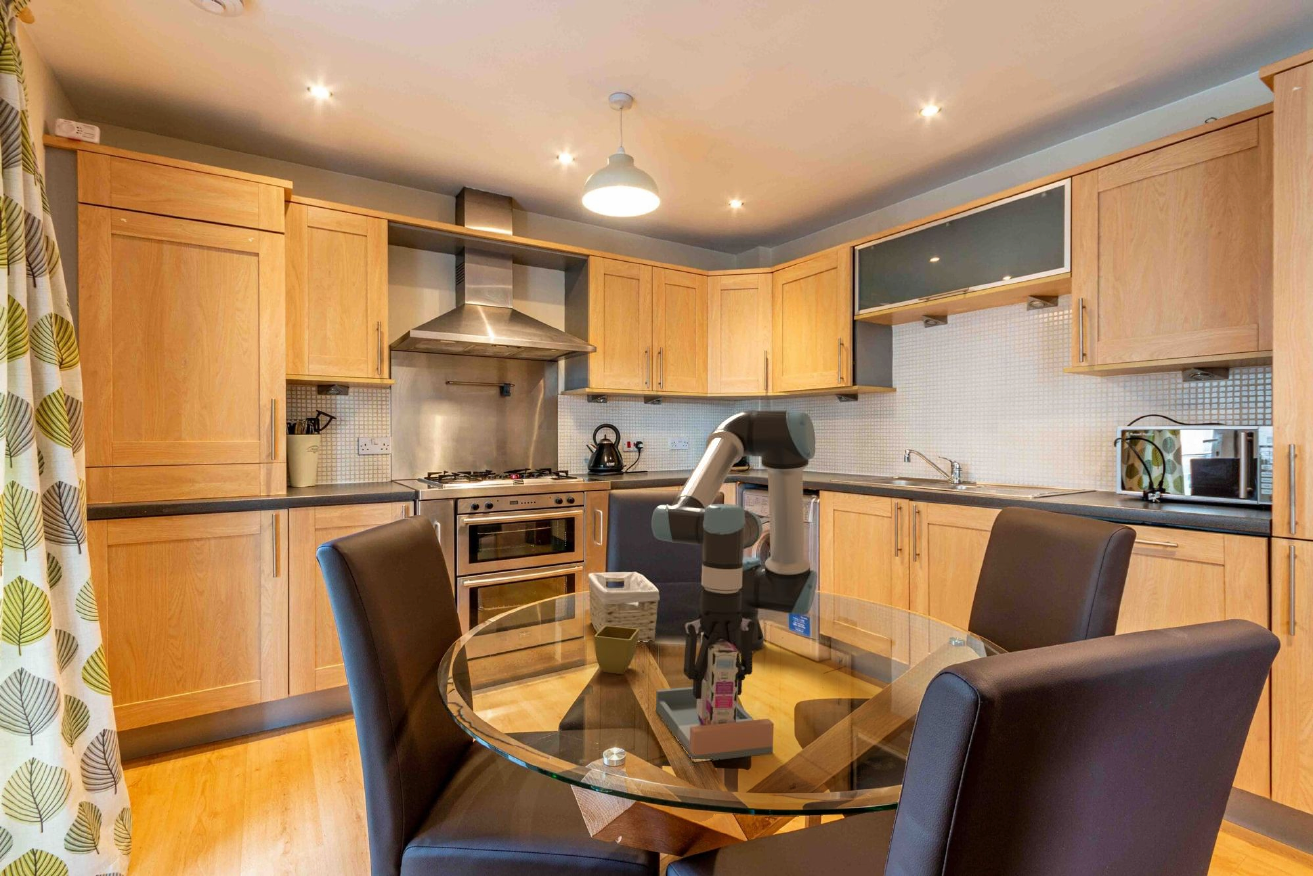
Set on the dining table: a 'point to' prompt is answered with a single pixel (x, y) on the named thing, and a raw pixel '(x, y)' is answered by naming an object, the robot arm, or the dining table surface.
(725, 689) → the candy bar box
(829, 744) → the dining table surface
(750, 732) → the gray drawer tray
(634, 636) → the flower pot
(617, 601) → the storage basket
